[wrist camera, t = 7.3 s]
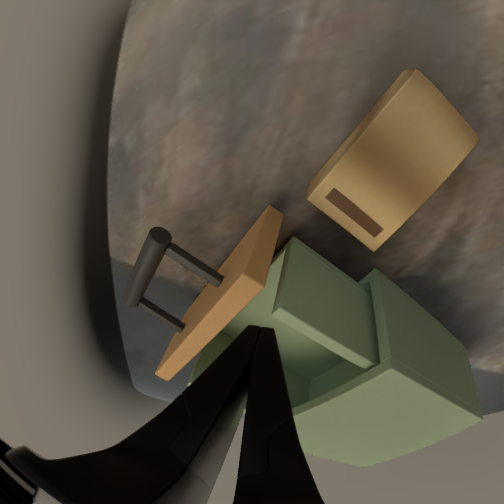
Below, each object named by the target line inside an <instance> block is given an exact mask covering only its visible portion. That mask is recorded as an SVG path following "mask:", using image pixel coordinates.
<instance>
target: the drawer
mask: <svg viewBox="0 0 504 504" xmlns="http://www.w3.org/2000/svg"><path fill="white" fill-rule="evenodd" d="M283 216H284V215H283V214H282V213H280V212H279V211H278V210H276V209H275V208H273V207H272V206H270V205H269V206H268V207H267V208H266V209H265V210H264V212H263V213H262V214H261V216H260V217H259V218H258V219H257V221H256V222H255V223H254V225H253V226H252V227H251V228H250V230H249V231H248V232H247V233H246V235H245V236H244V237H243V239H242V240H241V241H240V242H239V244H238V245H237V246H236V248H235V249H234V250H233V252H232V253H231V254H230V255H229V257H228V258H227V259H226V261H225V262H224V263H223V264H222V266H221V267H220V268H219V270H218V271H215V270H214V269H212V268H211V267H209V266H207V265H206V264H204V263H203V262H201V261H200V260H198V259H197V258H195V257H194V256H192V255H191V254H189V253H188V252H186V251H185V250H183V249H182V248H180V247H179V246H177V245H176V244H174V243H173V242H172V243H171V241H172V237H171V234H170V233H169V232H168V231H167V230H166V229H164V228H162V227H153V228H152V229H151V230H150V231H149V233H148V236H147V238H146V240H145V242H144V245H143V247H142V249H141V251H140V254H139V256H138V258H137V261H136V263H135V265H134V268H133V270H132V273H131V275H130V278H129V280H128V283H127V285H126V288H125V290H124V293H123V295H122V300H123V302H124V304H125V305H126V306H128V307H136V306H138V307H140V308H141V309H143V310H144V311H146V312H147V313H149V314H150V315H152V316H154V317H155V318H157V319H158V320H160V321H161V322H163V323H164V324H166V325H168V326H169V327H171V328H172V329H174V330H176V333H175V335H174V337H173V339H172V341H171V343H170V345H169V347H168V348H167V350H166V352H165V354H164V356H163V358H162V360H161V362H160V364H159V366H158V368H157V370H156V372H155V374H156V375H157V376H159V377H161V378H162V379H164V380H166V381H169V380H170V379H171V378H172V377H173V376H174V375H175V374H176V373H177V372H178V371H179V370H181V369H182V368H183V367H184V366H185V365H186V364H187V363H188V362H189V361H190V360H191V359H192V358H193V357H194V356H195V355H196V354H197V353H198V352H199V351H201V352H200V354H199V356H198V359H197V361H196V364H195V366H194V368H193V371H192V373H191V376H190V378H189V381H188V383H187V386H189V385H190V384H191V383H192V382H193V381H194V380H195V379H196V378H197V377H198V376H199V375H200V374H201V373H202V372H203V371H204V370H205V369H206V368H207V367H208V366H209V365H210V364H211V363H212V362H213V361H214V360H215V359H216V358H217V357H218V356H219V355H220V354H221V353H222V352H223V351H224V350H225V349H226V348H227V347H228V346H229V345H230V343H231V342H232V341H233V340H234V339H235V338H236V337H237V336H238V335H239V334H240V333H241V332H242V331H243V330H244V329H245V328H246V327H247V326H248V325H257V326H260V327H261V328H262V327H271V328H274V330H275V334H276V338H277V343H278V347H279V352H280V356H281V361H282V366H283V370H284V375H285V379H286V384H287V388H288V393H289V398H290V402H291V407H292V408H295V407H297V406H299V405H301V404H304V403H306V402H308V401H310V400H312V399H314V398H317V397H319V396H321V395H323V394H325V393H327V392H329V391H331V390H333V389H335V388H337V387H339V386H341V385H343V384H345V383H346V382H348V381H350V380H352V379H354V378H356V377H357V376H359V375H361V374H363V373H365V372H366V371H368V370H370V369H372V368H373V367H375V366H377V365H378V364H380V356H379V346H378V337H377V329H376V321H375V313H374V306H373V300H372V293H371V292H369V291H368V290H367V289H365V288H364V287H363V286H361V285H360V284H359V283H357V282H356V281H355V280H353V279H352V278H351V277H349V276H348V275H347V274H345V273H344V272H343V271H341V270H340V269H338V268H337V267H336V266H334V265H333V264H332V263H330V262H329V261H328V260H326V259H325V258H323V257H322V256H321V255H319V254H318V253H317V252H315V251H314V250H312V249H311V248H310V247H308V246H307V245H305V244H304V243H303V242H301V241H300V240H298V239H297V238H296V237H294V236H293V237H292V238H291V239H290V240H289V242H288V243H287V244H286V245H285V246H284V247H283V248H282V249H281V250H280V251H279V253H278V254H277V255H276V256H275V257H274V258H273V254H274V250H275V247H276V243H277V239H278V235H279V231H280V228H281V224H282V220H283ZM164 254H166V255H168V256H169V257H171V258H172V259H174V260H175V261H177V262H178V263H180V264H181V265H183V266H184V267H186V268H187V269H189V270H190V271H192V272H193V273H195V274H196V275H198V276H200V277H201V278H203V279H204V280H206V281H207V282H209V283H208V284H207V285H206V287H205V288H204V289H203V291H202V292H201V293H200V294H199V296H198V297H197V298H196V300H195V301H194V302H193V304H192V305H191V306H190V308H189V309H188V310H187V312H186V313H185V315H184V317H183V319H182V321H180V320H178V319H176V318H175V317H173V316H172V315H170V314H169V313H167V312H165V311H164V310H162V309H161V308H159V307H158V306H156V305H155V304H153V303H152V302H150V301H149V300H147V299H146V298H144V297H143V295H144V293H145V291H146V289H147V287H148V285H149V283H150V281H151V279H152V277H153V275H154V273H155V271H156V269H157V267H158V265H159V264H160V262H161V260H162V258H163V256H164ZM272 258H273V259H272ZM142 297H143V298H142ZM245 412H246V405H245V408H244V411H243V413H245Z"/></svg>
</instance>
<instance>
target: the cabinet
mask: <svg viewBox="0 0 504 504" xmlns="http://www.w3.org/2000/svg"><path fill="white" fill-rule="evenodd" d="M358 283H359V284H360V285H361V286H363V287H364V288H365V289H367V290H368V291H369V292H371V293H372V300H373V306H374V313H375V321H376V329H377V337H378V346H379V356H380V364H378V365H377V366H375V367H373V368H372V369H370V370H368V371H366V372H365V373H363V374H361V375H359V376H357V377H356V378H354V379H352V380H350V381H348V382H346V383H345V384H343V385H341V386H339V387H337V388H335V389H333V390H331V391H329V392H327V393H325V394H323V395H321V396H319V397H317V398H314V399H312V400H310V401H308V402H306V403H304V404H301V405H299V406H297V407H295V408H292V411H293V417H294V420H295V425H296V429H297V433H298V437H299V441H300V444H301V447H302V450H303V452H304V453H308V454H311V455H315V456H318V457H322V458H326V459H330V460H334V461H338V462H342V463H346V464H351V465H356V466H361V467H366V466H370V465H373V464H377V463H380V462H384V461H387V460H389V459H393V458H396V457H399V456H402V455H405V454H408V453H411V452H413V451H416V450H419V449H421V448H424V447H426V446H429V445H431V444H433V443H436V442H438V441H441V440H443V439H445V438H447V437H450V436H452V435H454V434H456V433H458V432H460V431H462V430H464V429H466V428H468V427H470V426H472V425H474V424H476V423H478V422H480V421H482V420H483V417H482V413H481V412H482V411H481V406H480V402H479V397H478V393H477V389H476V384H475V381H474V377H473V373H472V369H471V366H470V362H469V359H468V356H467V352H466V349H465V346H464V345H463V344H462V343H461V342H460V341H459V340H458V339H457V338H456V337H455V336H454V335H453V334H452V333H450V332H449V331H448V330H447V329H446V328H445V327H444V326H443V325H442V324H441V323H440V322H438V321H437V320H436V319H435V318H434V317H433V316H432V315H431V314H429V313H428V312H427V311H426V310H425V309H424V308H423V307H422V306H420V305H419V304H418V303H417V302H416V301H415V300H413V299H412V298H411V297H410V296H409V295H408V294H406V293H405V292H404V291H403V290H402V289H401V288H399V287H398V286H397V285H396V284H395V283H393V282H392V281H391V280H390V279H389V278H387V277H386V276H385V275H384V274H383V273H381V272H380V271H379V270H378V269H376V268H374V269H373V270H372V271H371V272H370V273H369V274H367V275H366V276H365V277H364V278H363V279H362V280H360V281H359V282H358Z"/></svg>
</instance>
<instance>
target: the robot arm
mask: <svg viewBox="0 0 504 504" xmlns="http://www.w3.org/2000/svg"><path fill="white" fill-rule="evenodd" d="M245 405H246V412H245V420H244V429H243V437H242V444H241V452H240V460H239V468H238V476H237V477H238V479H237V484H236V490H235V496H234V501H233V504H325V503H324V502H323V500H322V498H321V496H320V493H319V491H318V489H317V486H316V484H315V481H314V479H313V477H312V474H311V471H310V469H309V466H308V464H307V461H306V459H305V456H304V453H303V450H302V447H301V444H300V441H299V437H298V433H297V429H296V425H295V420H294V417H293V411H292V407H291V402H290V398H289V393H288V388H287V384H286V379H285V375H284V370H283V366H282V361H281V356H280V352H279V347H278V343H277V338H276V334H275V330H274V328H271V327H262V328H261V327H260V326H257V325H248V326H247V327H246V328H245V329H244V330H243V331H242V332H241V333H240V334H239V335H238V336H237V337H236V338H235V339H234V340H233V341H232V342H231V343H230V345H229V346H228V347H227V348H226V349H225V350H224V351H223V352H222V353H221V354H220V355H219V356H218V357H217V358H216V359H215V360H214V361H213V362H212V363H211V364H210V365H209V366H208V367H207V368H206V369H205V370H204V371H203V372H202V373H201V374H200V375H199V376H198V377H197V378H196V379H195V380H194V381H193V382H192V383H191V384H190V385H189V386H188V387H187V388H186V389H185V390H184V391H183V392H182V395H179V396H178V397H177V398H176V399H175V400H174V401H173V402H172V403H171V404H170V405H169V406H168V407H167V408H165V409H164V410H163V411H162V412H161V413H160V414H158V415H157V416H156V417H154V418H153V419H152V420H151V421H149V422H148V423H146V424H145V425H144V426H142V427H141V428H140V429H138V430H137V431H135V432H134V433H132V434H131V435H130V436H128V437H127V438H125V439H124V440H122V441H121V442H120V443H118V444H116V445H114V446H112V447H110V448H107V449H105V450H101V451H97V452H92V453H88V454H83V455H78V456H73V457H67V458H62V459H54V460H48V459H45V458H44V457H42V456H41V455H39V454H37V453H36V452H34V451H33V450H31V449H30V448H28V447H26V446H20V447H17V448H12V447H11V446H10V445H9V444H7V443H6V442H5V441H4V440H3V439H1V438H0V504H207V501H208V499H209V497H210V494H211V492H212V491H211V490H212V489H213V487H214V485H215V482H216V480H217V477H218V475H219V472H220V470H221V467H222V465H223V463H224V460H225V457H226V455H227V452H228V450H229V447H230V445H231V442H232V439H233V437H234V435H235V432H236V429H237V426H238V424H239V421H240V419H241V416H242V413H243V411H244V408H245Z"/></svg>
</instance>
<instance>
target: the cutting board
mask: <svg viewBox="0 0 504 504" xmlns="http://www.w3.org/2000/svg"><path fill="white" fill-rule="evenodd" d="M479 141H480V139H479V138H478V136H477V135H476V134H475V132H474V131H473V130H472V128H471V127H470V126H469V125H468V123H467V122H466V121H465V120H464V118H463V117H462V116H461V115H460V114H459V112H458V111H457V110H456V109H455V108H454V107H453V105H452V104H451V103H450V102H449V101H448V100H447V99H446V98H445V96H444V95H443V94H442V93H441V92H440V91H439V90H438V89H437V88H436V87H435V86H434V85H433V84H432V83H431V82H430V81H429V80H428V79H427V78H426V77H425V76H424V75H423V74H422V73H421V72H420V71H419V70H418V69H408V70H403V72H402V73H401V74H400V75H399V76H398V78H397V79H396V80H395V81H394V82H393V84H392V85H391V86H390V87H389V88H388V90H387V91H386V92H385V93H384V94H383V96H382V97H381V98H380V99H379V100H378V102H377V103H376V104H375V105H374V106H373V108H372V109H371V110H370V111H369V112H368V113H367V115H366V116H365V117H364V118H363V119H362V121H361V122H360V123H359V124H358V125H357V127H356V128H355V129H354V130H353V131H352V133H351V134H350V135H349V136H348V137H347V139H346V140H345V141H344V142H343V143H342V145H341V146H340V147H339V148H338V149H337V151H336V152H335V153H334V154H333V155H332V157H331V158H330V159H329V160H328V161H327V163H326V164H325V165H324V166H323V167H322V168H321V170H320V171H319V172H318V173H317V174H316V176H315V177H314V178H313V179H312V180H311V182H310V183H309V184H308V191H307V200H308V201H309V202H310V203H312V204H313V205H315V206H316V207H317V208H318V209H320V210H321V211H322V212H324V213H325V214H326V215H328V216H329V217H330V218H332V219H333V220H334V221H335V222H337V223H338V224H339V225H341V226H342V227H343V228H344V229H346V230H347V231H348V232H349V233H351V234H352V235H353V236H354V237H356V238H357V239H358V240H359V241H361V242H362V243H363V244H364V245H366V246H367V247H368V248H369V249H370V250H372V251H373V252H374V251H375V250H377V249H378V248H379V247H380V246H381V245H382V244H383V243H384V242H385V241H386V240H387V239H388V238H389V237H390V236H391V235H392V234H393V233H394V232H395V231H396V230H397V229H398V228H399V227H401V226H402V225H403V224H404V223H405V222H406V221H407V220H408V219H409V218H410V217H411V216H412V215H413V214H414V213H415V212H416V210H417V209H418V208H419V207H420V206H421V205H422V204H423V203H424V202H425V201H426V200H427V199H428V198H429V197H430V196H431V195H432V194H433V193H434V192H435V191H436V190H437V189H438V187H439V186H440V185H441V184H442V183H443V182H444V181H445V180H446V179H447V178H448V177H449V176H450V174H451V173H452V172H453V171H454V170H455V169H456V168H457V167H458V165H459V164H460V163H461V162H462V161H463V160H464V159H465V157H466V156H467V155H468V154H469V153H470V152H471V150H472V149H473V148H474V147H475V146H476V144H477V143H478V142H479Z"/></svg>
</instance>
